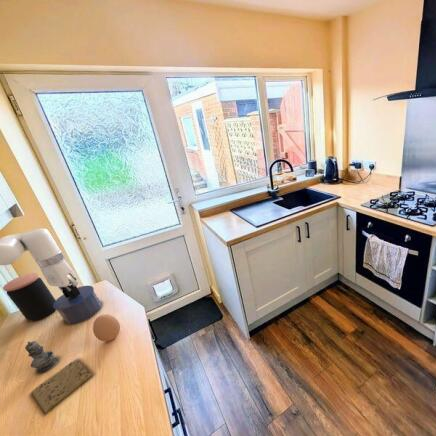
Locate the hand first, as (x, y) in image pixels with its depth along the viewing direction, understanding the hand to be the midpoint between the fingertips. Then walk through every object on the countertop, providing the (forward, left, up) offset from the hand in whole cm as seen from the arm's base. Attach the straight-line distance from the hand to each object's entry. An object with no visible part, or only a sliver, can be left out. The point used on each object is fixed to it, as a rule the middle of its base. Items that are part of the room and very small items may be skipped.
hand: (73, 295), depth 102 cm
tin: (0, 0, -10) cm, 10 cm away
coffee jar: (-20, -3, -10) cm, 22 cm away
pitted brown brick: (+25, -26, -10) cm, 37 cm away
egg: (+26, -9, -10) cm, 29 cm away
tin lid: (0, 0, -1) cm, 1 cm away
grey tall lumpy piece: (+12, -22, -10) cm, 27 cm away
